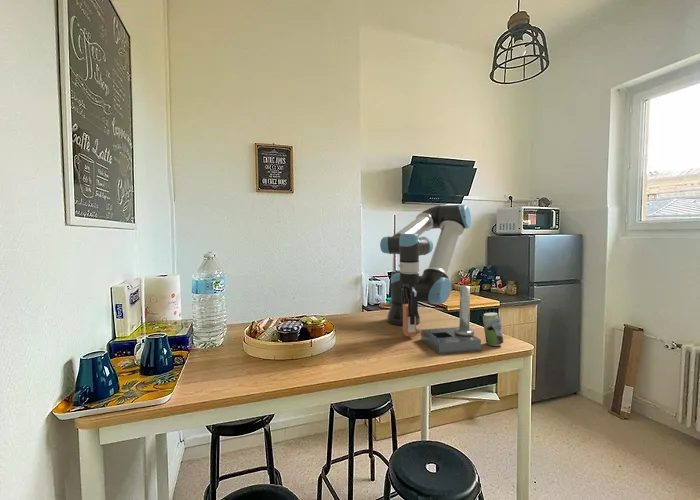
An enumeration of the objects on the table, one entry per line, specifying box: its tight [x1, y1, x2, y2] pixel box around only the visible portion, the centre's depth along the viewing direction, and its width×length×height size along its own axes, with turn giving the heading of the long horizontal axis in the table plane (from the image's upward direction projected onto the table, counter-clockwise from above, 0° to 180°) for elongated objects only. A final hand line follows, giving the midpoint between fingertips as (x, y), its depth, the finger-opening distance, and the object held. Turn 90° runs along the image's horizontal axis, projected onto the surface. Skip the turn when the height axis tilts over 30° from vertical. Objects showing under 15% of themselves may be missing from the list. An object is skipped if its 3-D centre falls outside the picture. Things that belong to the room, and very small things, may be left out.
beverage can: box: [482, 311, 504, 347], centre depth 131 cm, size 6×7×12 cm
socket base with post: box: [420, 285, 482, 355], centre depth 130 cm, size 16×18×22 cm
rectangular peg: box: [402, 304, 417, 337], centre depth 139 cm, size 4×4×12 cm
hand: (409, 330), depth 139 cm, fingers closed on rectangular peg, 4 cm apart
